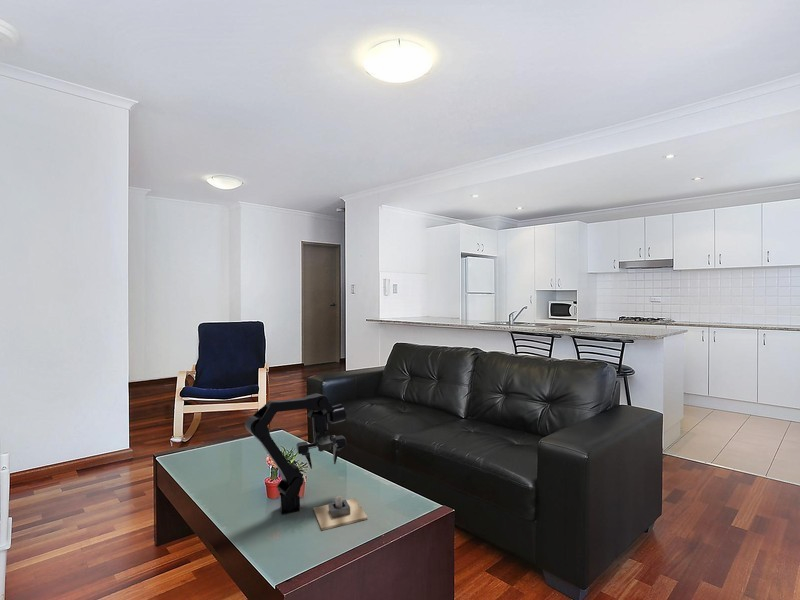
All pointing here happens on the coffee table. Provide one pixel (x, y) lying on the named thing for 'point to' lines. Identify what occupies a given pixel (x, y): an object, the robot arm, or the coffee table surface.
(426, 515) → the coffee table surface
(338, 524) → the wooden peg base
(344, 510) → the collar
